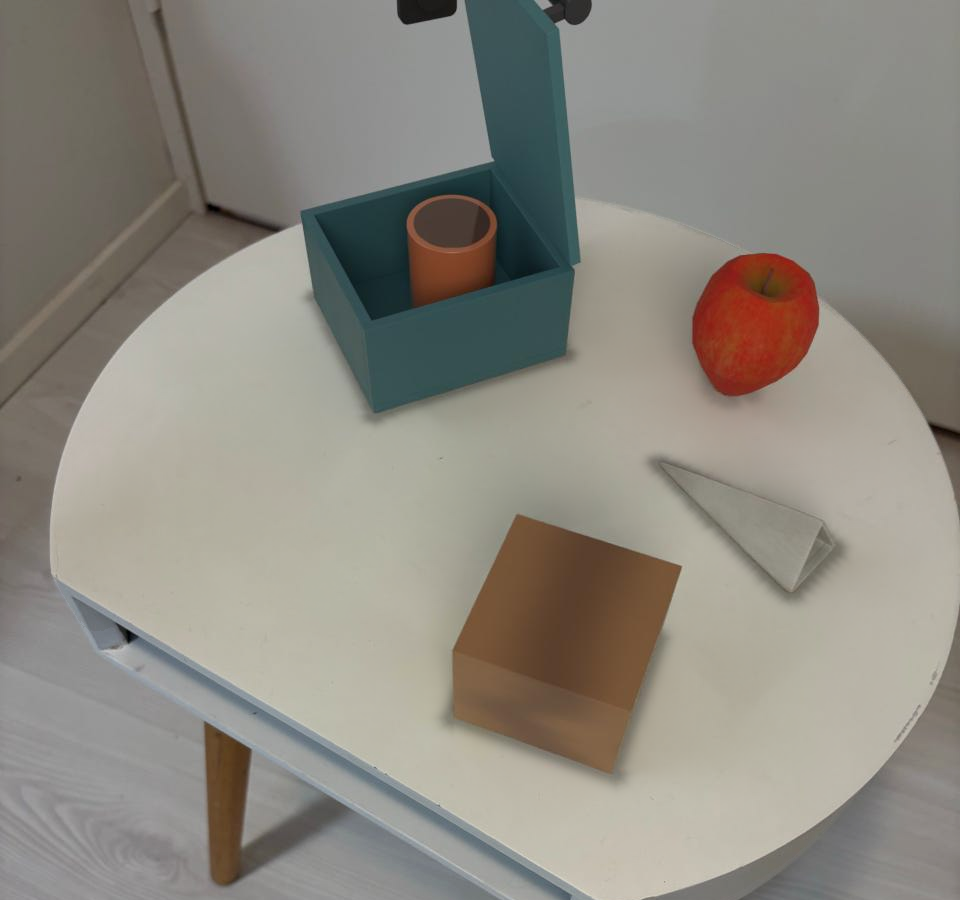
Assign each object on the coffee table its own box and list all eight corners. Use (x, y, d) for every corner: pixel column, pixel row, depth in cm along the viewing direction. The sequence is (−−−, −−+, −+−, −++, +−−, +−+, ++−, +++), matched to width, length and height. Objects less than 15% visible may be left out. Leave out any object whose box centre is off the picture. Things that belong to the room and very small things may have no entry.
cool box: (373, 414, 73) (364, 331, 66) (313, 297, 79) (299, 210, 73) (565, 355, 76) (575, 270, 70) (493, 247, 83) (495, 160, 76)
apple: (733, 450, 71) (773, 333, 62) (651, 382, 75) (677, 261, 66) (813, 396, 74) (863, 276, 65) (730, 333, 78) (766, 210, 68)
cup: (395, 321, 77) (388, 230, 70) (441, 274, 80) (438, 183, 73) (465, 353, 75) (465, 263, 68) (509, 304, 78) (514, 213, 71)
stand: (453, 717, 60) (451, 650, 53) (511, 589, 65) (516, 513, 58) (611, 774, 58) (630, 712, 52) (659, 638, 63) (682, 565, 56)
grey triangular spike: (615, 508, 68) (788, 586, 62) (647, 447, 68) (824, 518, 62) (641, 531, 73) (803, 604, 67) (671, 474, 73) (837, 542, 67)
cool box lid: (546, 34, 55) (625, -1, 55) (450, -79, 61) (521, -109, 61) (570, 267, 69) (632, 239, 69) (491, 156, 75) (548, 131, 76)
